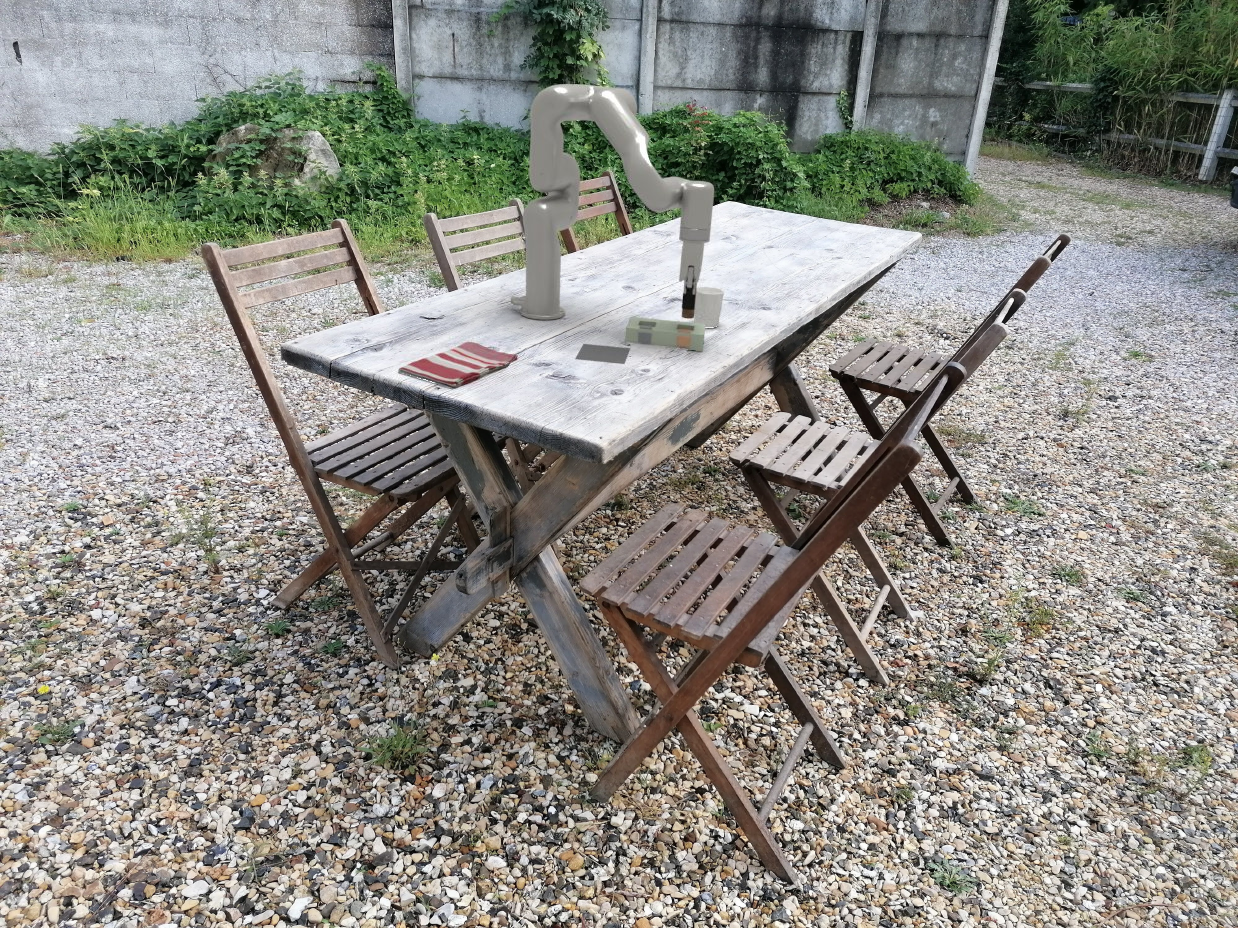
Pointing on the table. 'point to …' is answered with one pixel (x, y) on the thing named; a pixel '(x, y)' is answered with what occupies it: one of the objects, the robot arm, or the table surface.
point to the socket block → (665, 333)
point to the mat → (603, 353)
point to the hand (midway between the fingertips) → (688, 306)
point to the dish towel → (459, 365)
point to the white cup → (708, 305)
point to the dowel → (689, 313)
